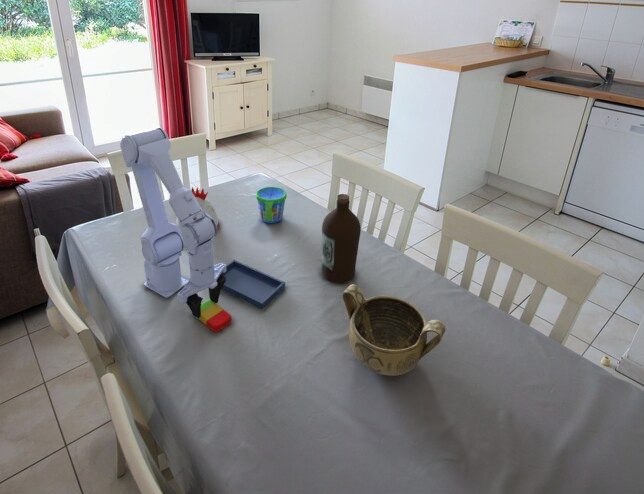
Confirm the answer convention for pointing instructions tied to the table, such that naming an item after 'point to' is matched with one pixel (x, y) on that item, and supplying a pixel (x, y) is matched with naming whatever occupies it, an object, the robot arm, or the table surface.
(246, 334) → the table surface
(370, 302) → the ceramic bowl
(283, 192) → the snack cup
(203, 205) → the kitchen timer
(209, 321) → the popsicle
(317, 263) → the table surface
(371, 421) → the table surface
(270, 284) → the tray
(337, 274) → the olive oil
